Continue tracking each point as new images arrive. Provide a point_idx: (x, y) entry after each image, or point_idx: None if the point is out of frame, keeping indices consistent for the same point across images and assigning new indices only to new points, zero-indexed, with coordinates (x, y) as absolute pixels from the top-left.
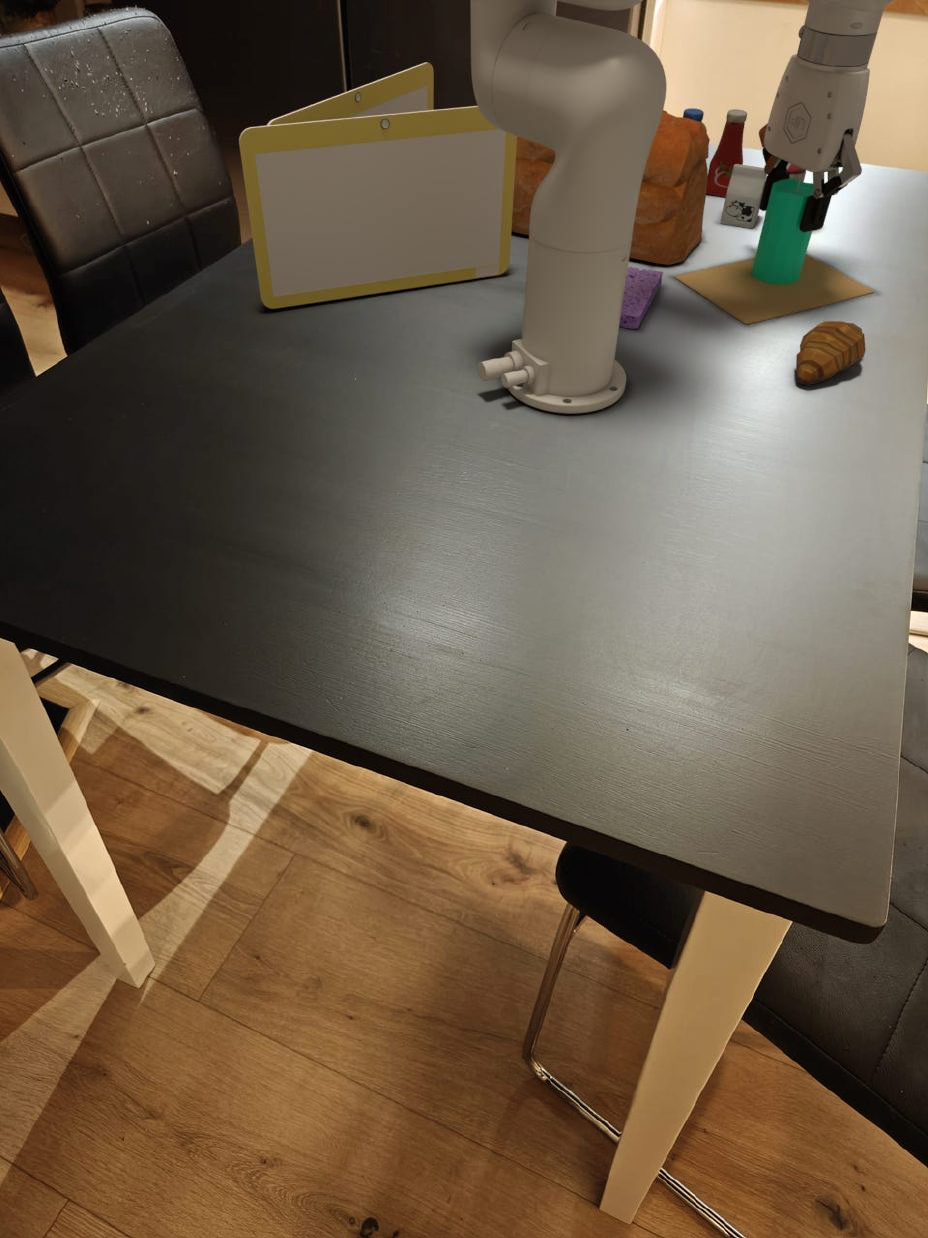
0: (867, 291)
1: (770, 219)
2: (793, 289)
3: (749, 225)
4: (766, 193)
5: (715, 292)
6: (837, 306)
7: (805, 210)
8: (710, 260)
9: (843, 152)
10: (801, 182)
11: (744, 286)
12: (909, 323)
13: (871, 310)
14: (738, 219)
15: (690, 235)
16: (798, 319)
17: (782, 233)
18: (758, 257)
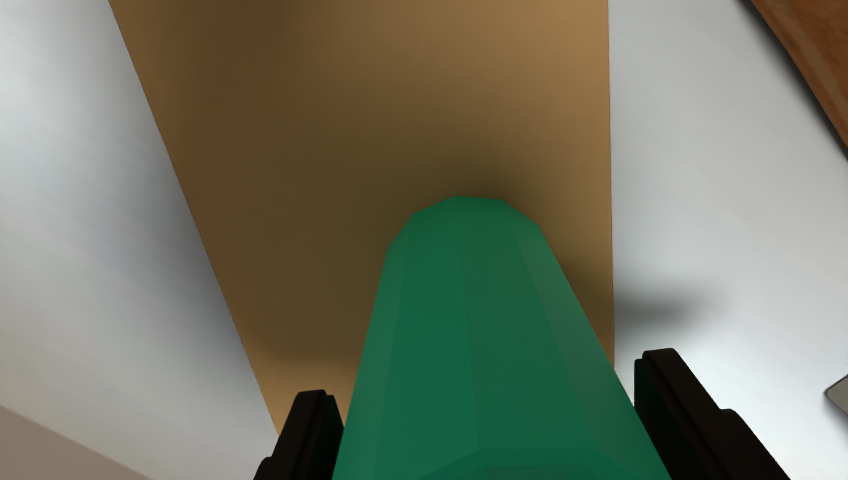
0: None
1: (476, 312)
2: (342, 270)
3: (841, 390)
4: (691, 425)
5: None
6: (220, 334)
7: (284, 478)
8: (680, 111)
9: None
10: None
11: (406, 114)
12: (107, 440)
13: (187, 400)
14: None
15: (831, 2)
16: (137, 172)
17: (392, 320)
18: (484, 223)
